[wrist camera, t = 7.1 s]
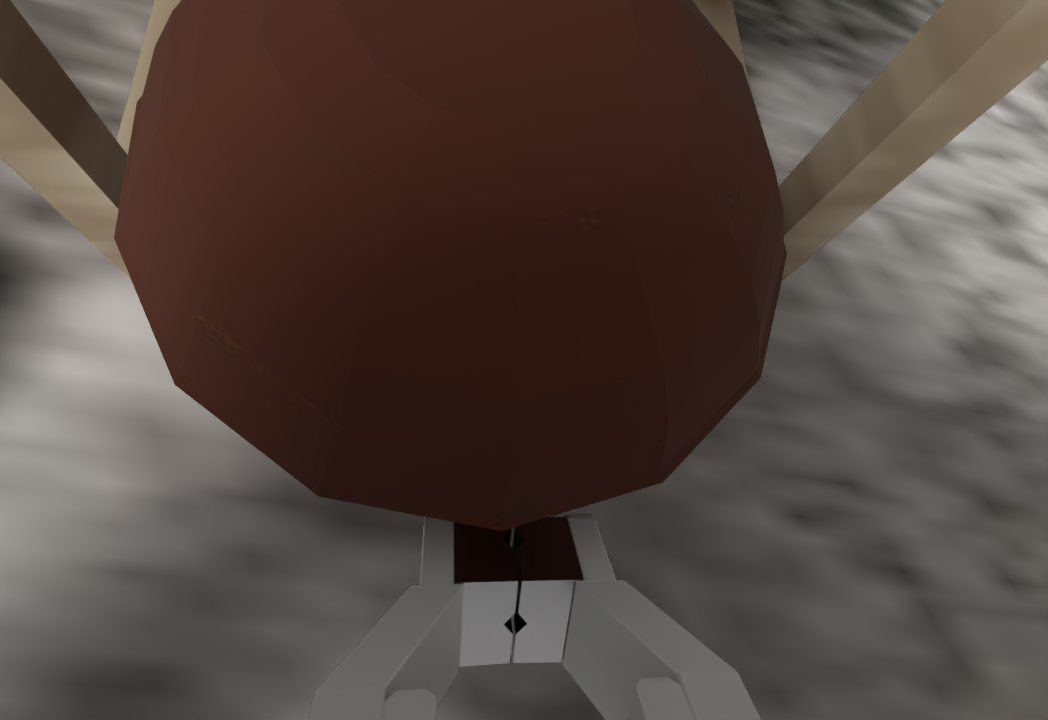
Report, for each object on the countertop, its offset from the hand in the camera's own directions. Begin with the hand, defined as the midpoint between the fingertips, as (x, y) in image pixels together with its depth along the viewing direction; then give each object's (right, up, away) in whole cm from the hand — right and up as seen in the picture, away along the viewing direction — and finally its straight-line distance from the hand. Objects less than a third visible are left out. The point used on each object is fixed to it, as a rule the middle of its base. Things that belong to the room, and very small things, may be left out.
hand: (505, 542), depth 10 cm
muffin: (-1, +4, +6) cm, 7 cm away
